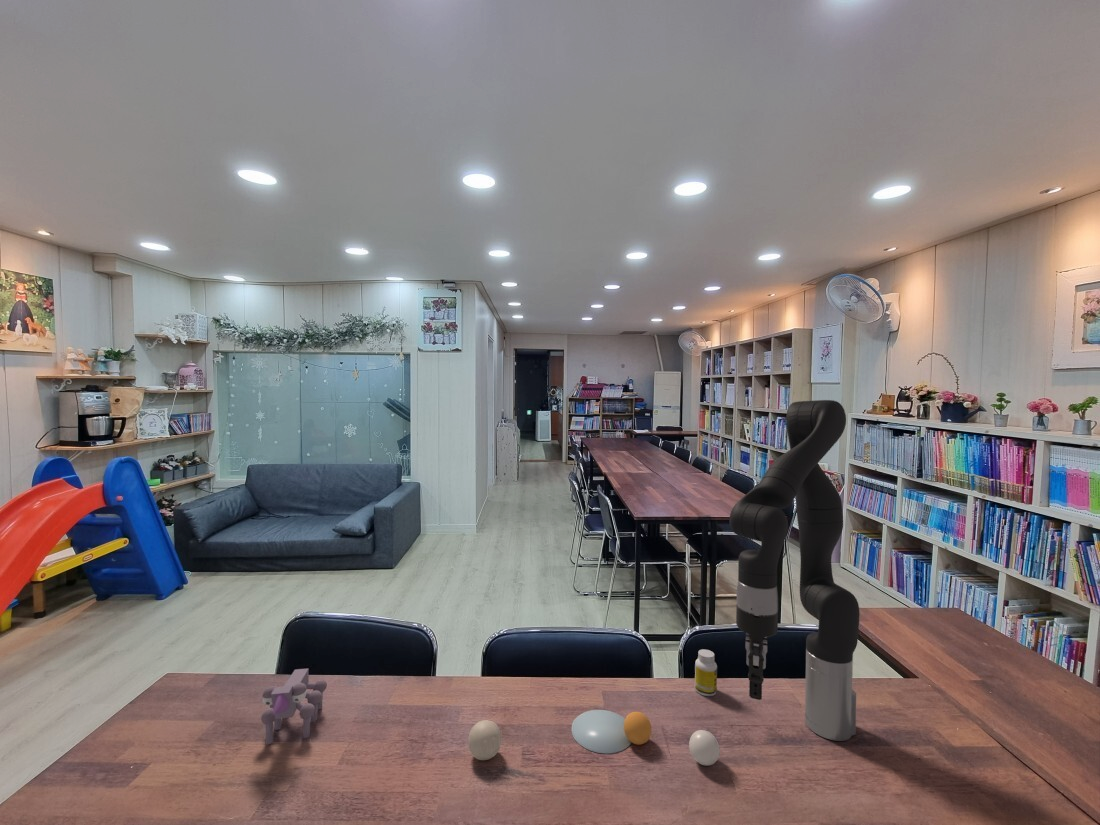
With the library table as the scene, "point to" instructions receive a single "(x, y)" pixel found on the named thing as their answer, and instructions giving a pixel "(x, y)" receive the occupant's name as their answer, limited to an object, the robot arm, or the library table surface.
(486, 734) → the beige egg
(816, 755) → the library table surface
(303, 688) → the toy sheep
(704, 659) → the supplement bottle
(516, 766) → the library table surface
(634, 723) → the object ball
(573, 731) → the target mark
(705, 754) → the cue ball
